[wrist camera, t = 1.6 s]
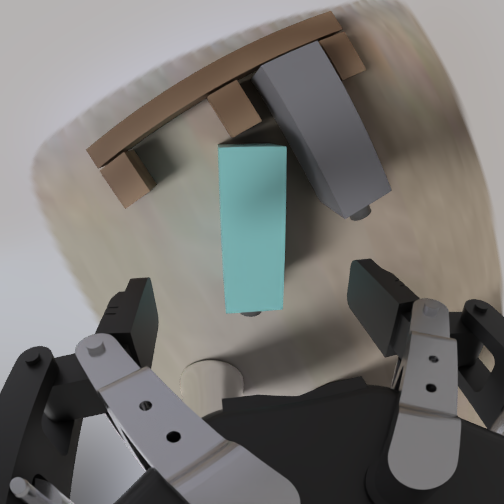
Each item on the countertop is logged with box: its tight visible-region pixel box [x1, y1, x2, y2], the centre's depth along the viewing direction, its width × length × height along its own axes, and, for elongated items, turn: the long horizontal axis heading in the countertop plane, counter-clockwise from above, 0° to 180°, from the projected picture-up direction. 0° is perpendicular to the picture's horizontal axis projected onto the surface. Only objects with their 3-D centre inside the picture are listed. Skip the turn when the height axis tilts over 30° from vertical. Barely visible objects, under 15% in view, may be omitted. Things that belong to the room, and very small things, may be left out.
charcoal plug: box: [251, 41, 392, 221], centre depth 19 cm, size 12×4×5 cm, turn 30°
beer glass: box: [180, 360, 244, 418], centre depth 21 cm, size 7×7×15 cm
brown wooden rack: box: [86, 11, 366, 209], centre depth 18 cm, size 5×18×2 cm, turn 120°
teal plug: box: [218, 143, 287, 317], centre depth 20 cm, size 12×4×5 cm, turn 1°
